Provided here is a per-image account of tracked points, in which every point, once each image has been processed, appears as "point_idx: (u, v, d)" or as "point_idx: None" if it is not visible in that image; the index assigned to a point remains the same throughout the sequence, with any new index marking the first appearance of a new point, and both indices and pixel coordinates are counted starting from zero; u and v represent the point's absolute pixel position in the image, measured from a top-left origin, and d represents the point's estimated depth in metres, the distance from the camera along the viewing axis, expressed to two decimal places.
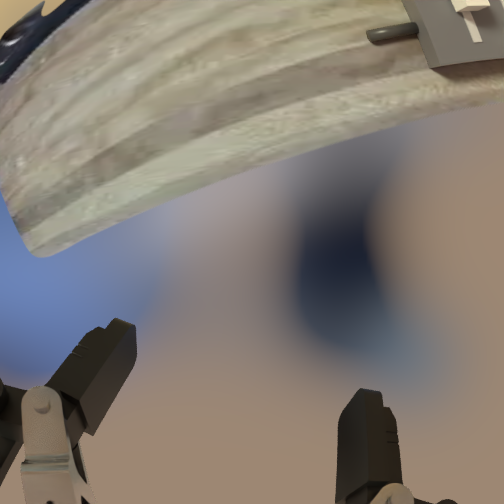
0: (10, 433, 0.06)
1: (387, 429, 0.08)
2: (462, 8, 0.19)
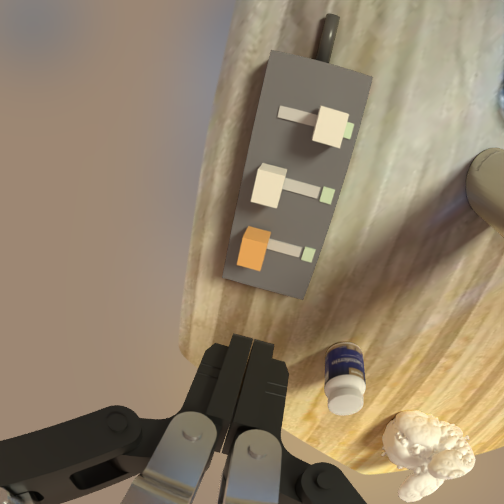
0: (139, 468, 0.07)
1: (275, 381, 0.10)
2: (320, 106, 0.26)
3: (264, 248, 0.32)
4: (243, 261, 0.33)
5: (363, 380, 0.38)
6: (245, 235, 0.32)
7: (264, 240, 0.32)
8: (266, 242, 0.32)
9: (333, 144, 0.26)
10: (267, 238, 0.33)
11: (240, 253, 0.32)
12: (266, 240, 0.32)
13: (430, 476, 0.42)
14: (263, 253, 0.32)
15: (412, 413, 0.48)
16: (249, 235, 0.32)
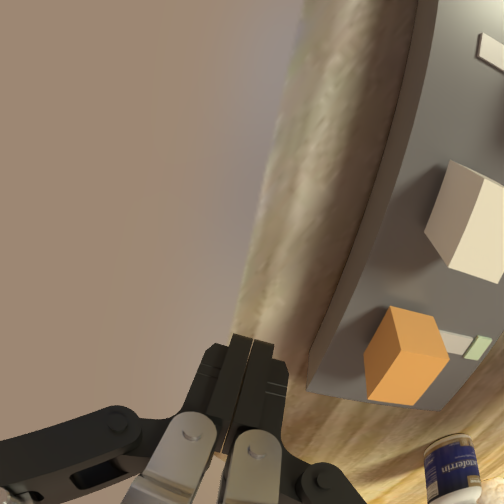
0: (138, 468, 0.07)
1: (275, 381, 0.10)
2: None
3: (440, 367, 0.11)
4: (385, 393, 0.12)
5: (481, 487, 0.17)
6: (402, 341, 0.11)
7: (439, 347, 0.11)
8: (445, 354, 0.11)
9: None
10: (440, 339, 0.12)
11: (383, 380, 0.12)
12: (442, 348, 0.11)
13: None
14: (434, 376, 0.11)
15: (493, 482, 0.27)
16: (410, 340, 0.12)
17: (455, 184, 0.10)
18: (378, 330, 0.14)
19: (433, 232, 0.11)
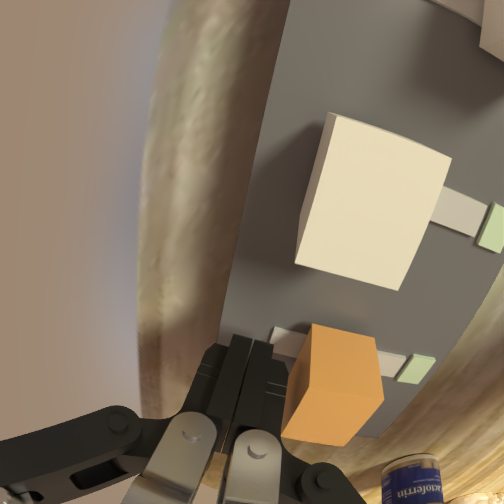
0: (139, 467, 0.07)
1: (275, 381, 0.10)
2: None
3: (371, 409, 0.09)
4: (301, 432, 0.10)
5: None
6: (315, 374, 0.09)
7: (371, 382, 0.09)
8: (379, 392, 0.09)
9: None
10: (376, 371, 0.10)
11: (295, 418, 0.09)
12: (376, 384, 0.09)
13: None
14: (364, 418, 0.09)
15: (472, 498, 0.25)
16: (328, 372, 0.09)
17: (323, 141, 0.07)
18: (300, 352, 0.12)
19: (301, 214, 0.09)
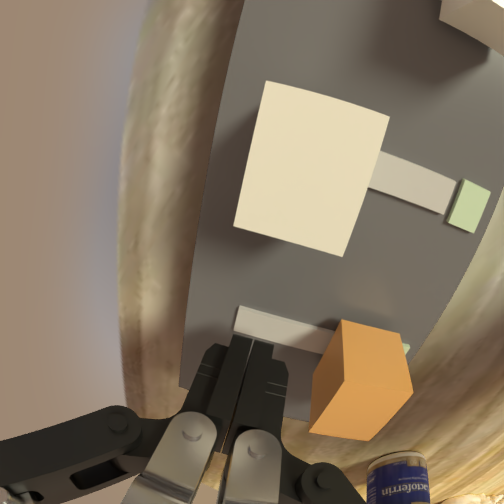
0: (139, 467, 0.07)
1: (275, 381, 0.10)
2: None
3: (400, 402, 0.09)
4: (330, 427, 0.10)
5: None
6: (349, 368, 0.09)
7: (400, 376, 0.09)
8: (409, 385, 0.09)
9: None
10: (404, 365, 0.10)
11: (326, 413, 0.10)
12: (405, 377, 0.09)
13: None
14: (393, 411, 0.09)
15: (463, 500, 0.25)
16: (361, 366, 0.09)
17: None
18: (328, 348, 0.12)
19: None
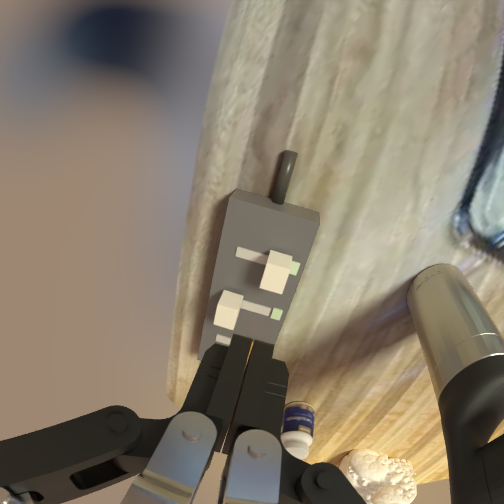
0: (139, 467, 0.07)
1: (275, 381, 0.10)
2: (268, 257, 0.34)
3: None
4: None
5: (310, 435, 0.46)
6: None
7: None
8: None
9: (276, 291, 0.34)
10: None
11: None
12: None
13: None
14: None
15: (363, 451, 0.57)
16: None
17: None
18: None
19: None
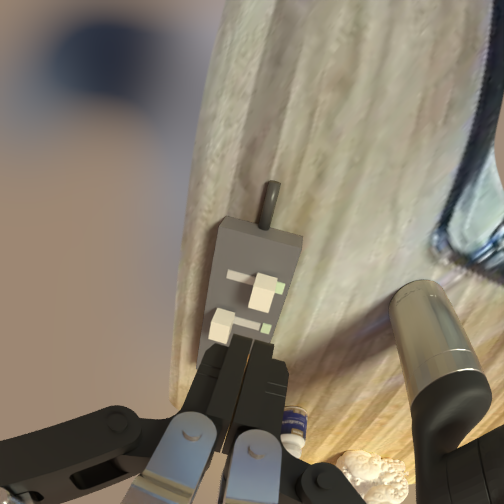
0: (139, 467, 0.07)
1: (275, 381, 0.10)
2: (255, 280, 0.38)
3: None
4: None
5: (302, 437, 0.50)
6: None
7: None
8: None
9: (263, 310, 0.38)
10: None
11: None
12: None
13: None
14: None
15: (356, 452, 0.60)
16: None
17: None
18: None
19: None
